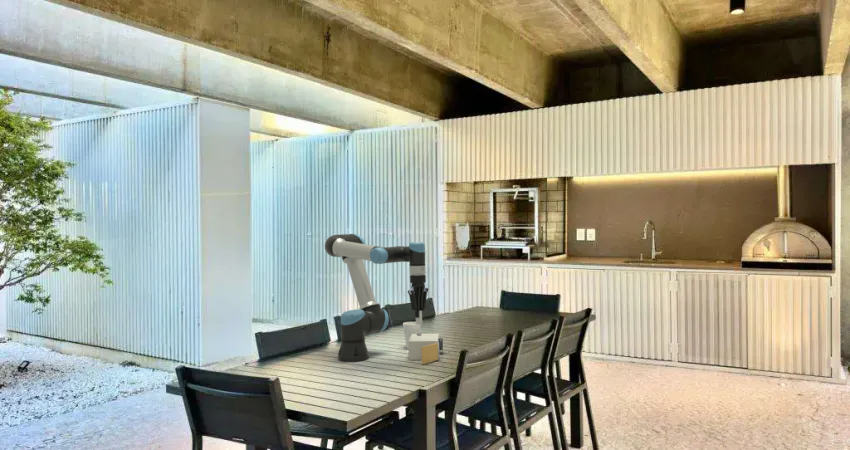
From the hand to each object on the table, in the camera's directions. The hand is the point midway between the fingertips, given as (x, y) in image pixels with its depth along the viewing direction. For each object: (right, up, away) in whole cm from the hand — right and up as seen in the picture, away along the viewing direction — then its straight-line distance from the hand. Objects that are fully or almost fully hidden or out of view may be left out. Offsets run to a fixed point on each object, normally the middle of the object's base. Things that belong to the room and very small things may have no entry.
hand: (419, 324), depth 284 cm
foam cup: (-4, -19, +35) cm, 40 cm away
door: (+6, -18, -1) cm, 18 cm away
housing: (+3, -18, +15) cm, 24 cm away
